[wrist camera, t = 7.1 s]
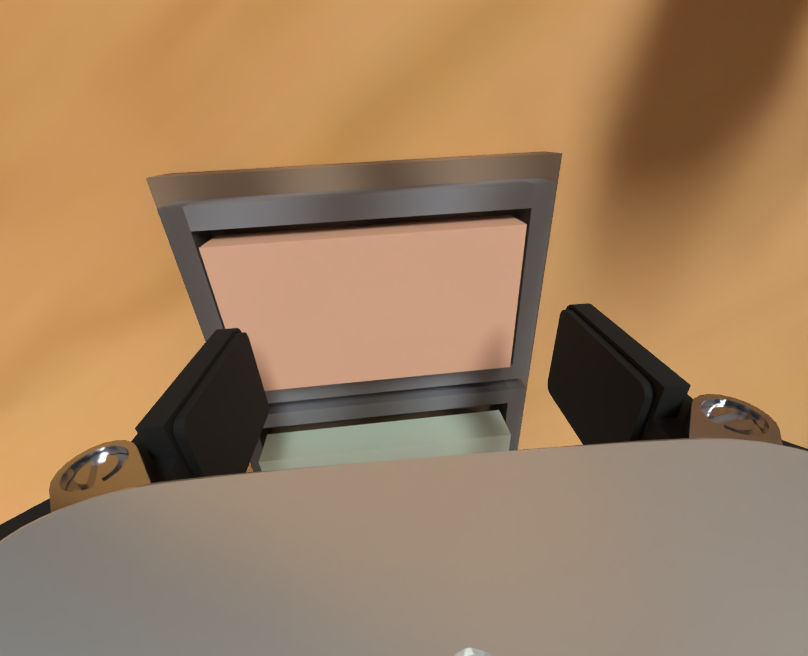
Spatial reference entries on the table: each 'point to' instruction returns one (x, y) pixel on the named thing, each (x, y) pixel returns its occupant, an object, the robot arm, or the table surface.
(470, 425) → the sage tile
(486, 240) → the terracotta tile
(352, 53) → the table surface
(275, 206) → the dark grey tile board
